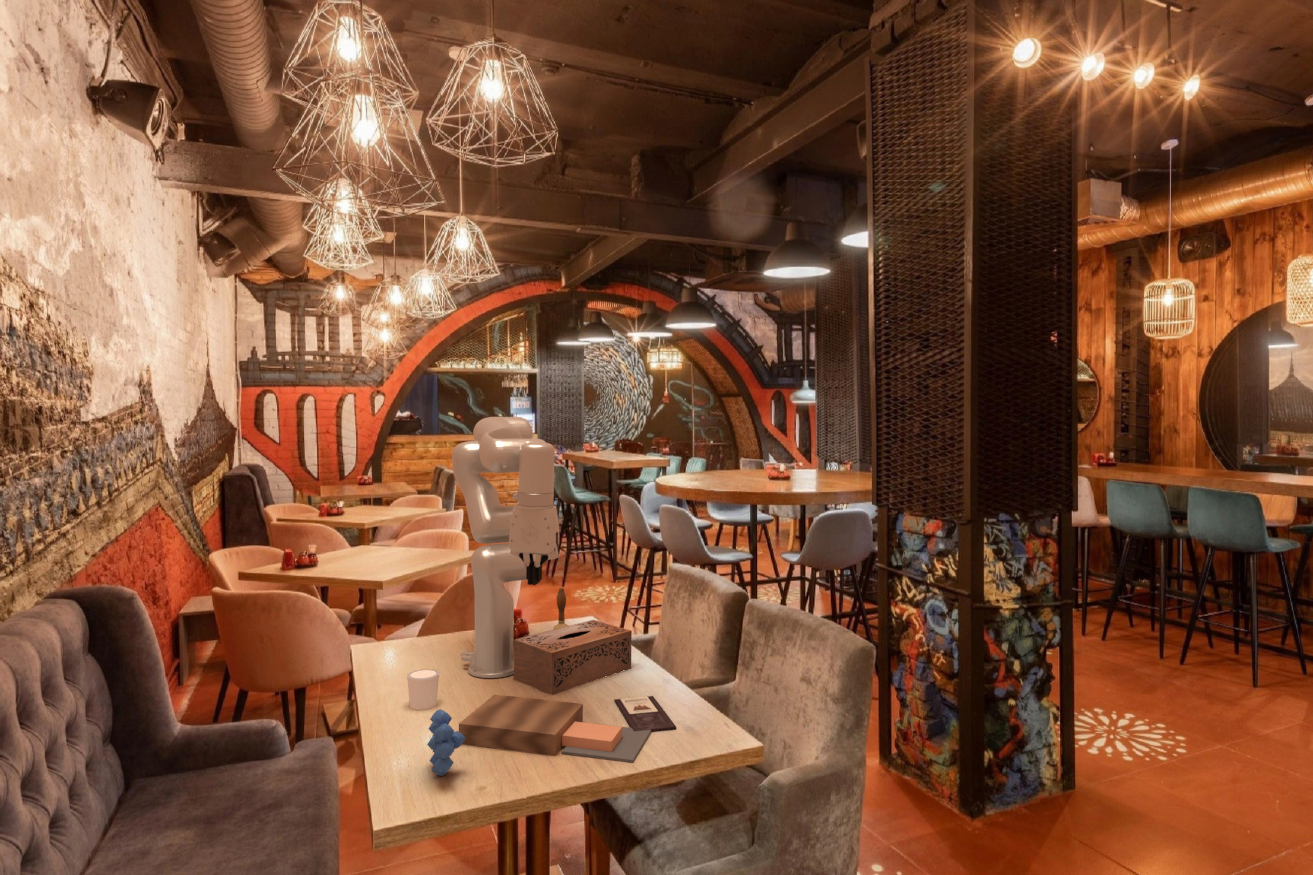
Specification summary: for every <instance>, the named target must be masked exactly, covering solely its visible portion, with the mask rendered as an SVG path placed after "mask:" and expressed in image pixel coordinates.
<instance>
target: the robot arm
mask: <svg viewBox="0 0 1313 875" xmlns="http://www.w3.org/2000/svg"><path fill="white" fill-rule="evenodd" d="M472 436H473V439H474V440H469V441H464V442H463V441H462V442H460V443H459V444H457V445H455V447H454V448H453V450H452V452H451V467H452V472H453V476H454V479H455V482H456V483H457V485H458V487H459V489H460V491H461V493H462V495H463V498H464V502H465V506H466V513H467V518H468V522H469V527H470V533H471V535H472V538H473V539H474V540H473V541H475V542H476V543H478V544H484V545H482V546H479V547H477V548H476V549H475V550H474V551H473V553H471V554H472V555H471V558H470V566H471V573H472V574H471V575H472V579H473V580H472V581H473V591H474V650H473V651H470V650H465V649H464V650H462V651H461V653H460V660H461V661H464V662H469V663H470V664H469V665H468V667H467V672H468V673H469V675H471V676H473V677H476V678H481V679H482V678H483V679H498V678H504V677H508V676H511V675H514V626H515V625H514V624H515V622H514V615H515V614H514V612H515V610H514V606H515V605H514V598H513V596H512V594H511V592H510V591H509V590H508V589H507V588H506V587H505V585H504V584H505V583H509V582H517V581H518V582H519V581H527V585H529V586H531V585H532V586H536V585H538V584H540V583H541V581H542V579H543V565H544V564H545V563H546V562H547V561H549V560H551V561H552V560H556V559H558V558H559V556H560V555H559V554H560V553H559V548H560V547H559V546H560V526H559V516H558V511H557V506H556V505H554V499H555V498H554V497H555V494H554V493H555V492H554V491H555V486H554V485H555V454H556V453H555V452H556V451H555V446H554V445H553V444H551V443H549V442H546V441H545V440H544V439H541V438H534V437H533V436H534V434H533V428H532V425H531V422H529V420H527V419H526V418H524V417H521V416H489V417H485V418H482V419H480V420H479V421H478V422H476V424H475V425H474V427H473V432H472ZM483 473H486V474H487V473H497V474H503V473H504V474H505V473H506V474H507V473H508V474H509V473H518V488H517V489H518V490H517V492H513V493H512V499H513V500H516V502H517V504H515V505H502V504H501V503H500V498H499V494H498V490H497V488H495V486H494V485H493V484H492V483H491V481H489V480H488V479H487V478H486V477H484V475H482V474H483Z"/></svg>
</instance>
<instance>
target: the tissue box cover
mask: <svg viewBox="0 0 1313 875" xmlns="http://www.w3.org/2000/svg"><path fill="white" fill-rule="evenodd" d="M553 629H554V628H553ZM553 629H551V630H548V631H544V632H538V633H535V634H530V635H527V636H524V637H519V638H513V660H514V674H513V680H515V681H517V682H519V683H522V684H524V685H527V686H529V687H530V688H533V689H537V691H541V692H543V693H545V692H546V694H548V695H551V696H552V695H555V694H558V693H562V692H565V691H569V690H570V689H573V688H577V687H579V686H582V684H583V685H586V684H588V683H587V682H589V683H592V682H595V681H597V680H596V679H598V680H601V679H604V678H606V677H605V676H607V677H610V676H613V675H612V674H614V673H617V674H619V672H620V673H622V672H621V671H623V670H626V671H628V669H629V670H631V669H632V640H633V639H632V634H633V633H632V631H633V630H630V629H627V628H624V627H620V626H616V625H613V624H611V623H607V622H603V621H599V620H595V619H590V620H586V621H583V622H579V623H574V624H570V625H569V626H566V627H562V628H558V629H554V630H553ZM623 672H624V671H623ZM614 675H615V674H614ZM603 677H604V678H603ZM594 680H595V681H594ZM591 681H592V682H591ZM585 683H586V684H585ZM576 686H577V687H576Z"/></svg>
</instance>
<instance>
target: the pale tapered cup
mask: <svg viewBox="0 0 1313 875" xmlns="http://www.w3.org/2000/svg"><path fill="white" fill-rule="evenodd" d="M406 677H407V689H408V700H409V707H410V708H411V709H412V710H415V711H425V710H426V711H427V710H430V709H433V708H435V707H436V706H437V700H438V692H439V691H438V690H439V680H440V671H438V670H436V669H434V668H433V669H430V668H429V669H428V668H427V669H425V668H424V669H423V668H421V669H416V670H413V671H411V672H409V673H407V676H406Z"/></svg>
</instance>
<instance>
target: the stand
mask: <svg viewBox="0 0 1313 875" xmlns="http://www.w3.org/2000/svg"><path fill="white" fill-rule="evenodd" d="M583 712H584V704H583V703H579V702H568V701H558V700H552V699H551V700H549V699H542V698H540V699H539V698H533V697H521V696H511V695H505V694H504V695H502V694H494V695H492V696H490V698H488V699H487V700H486V701H485V702H483V703H482V704H481V705H479V707H477V708H476V709H475V710H473V711H472V712H471V713H470V714H469V715H467V716H466V717H465V718H463V720H461V721H460V722H459V723H458V732H460V733H462V734H463V736H464V737H465V738H466V739H465V741H464V742H463V744H462V745H465V744H466V746H474V747H481V746H485V747H484V748H489V747H490V748H491V749H498V750H505V751H506V750H507V751H513V752H514V751H515V752H521V753H523V752H525V753H533V754H538V755H547V756H556V755H557V754H558V753H559V751H560V750H561V749H562V748H563V747H564V746H562V735H563V734H564V733H565V732H566V730H567V729H568V728H569V727H570V726H571V725H572V724H573V723H574V722H583V721H584V720H583V719H584V716H583V715H584V713H583Z"/></svg>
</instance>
